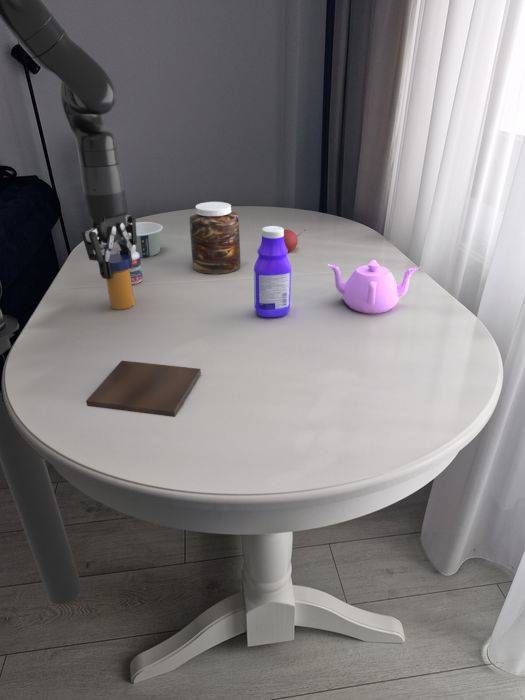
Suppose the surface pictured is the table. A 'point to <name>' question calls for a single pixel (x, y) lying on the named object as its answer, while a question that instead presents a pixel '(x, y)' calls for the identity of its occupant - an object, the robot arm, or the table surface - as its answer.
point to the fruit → (290, 240)
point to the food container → (148, 238)
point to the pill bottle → (135, 266)
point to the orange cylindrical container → (120, 290)
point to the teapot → (371, 288)
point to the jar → (215, 238)
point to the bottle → (272, 274)
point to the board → (145, 388)
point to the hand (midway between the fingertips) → (117, 272)
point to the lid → (120, 262)
